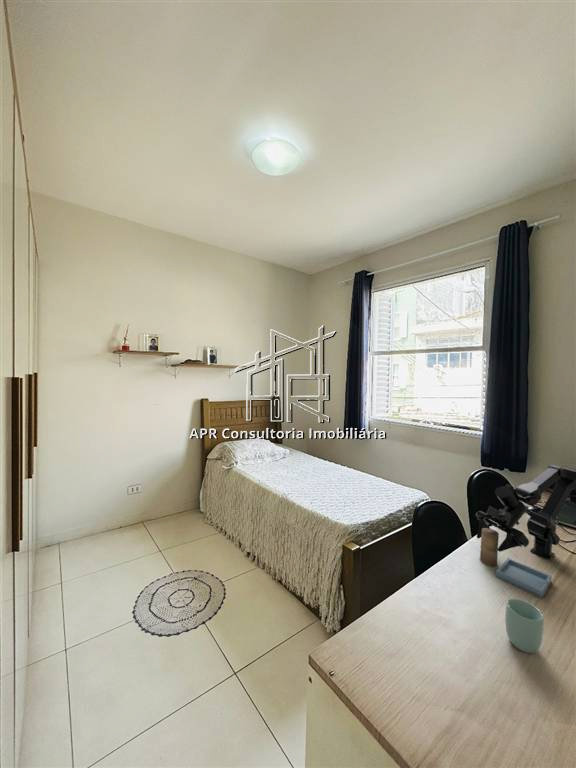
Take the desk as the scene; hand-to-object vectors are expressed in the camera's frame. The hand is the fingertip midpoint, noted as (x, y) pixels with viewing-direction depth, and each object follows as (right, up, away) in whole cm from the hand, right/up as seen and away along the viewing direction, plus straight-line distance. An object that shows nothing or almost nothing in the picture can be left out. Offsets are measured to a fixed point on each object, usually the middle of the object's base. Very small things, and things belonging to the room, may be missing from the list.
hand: (487, 544), depth 118 cm
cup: (-15, -8, -36) cm, 40 cm away
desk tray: (+7, -8, -9) cm, 14 cm away
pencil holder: (+1, -7, +1) cm, 7 cm away
